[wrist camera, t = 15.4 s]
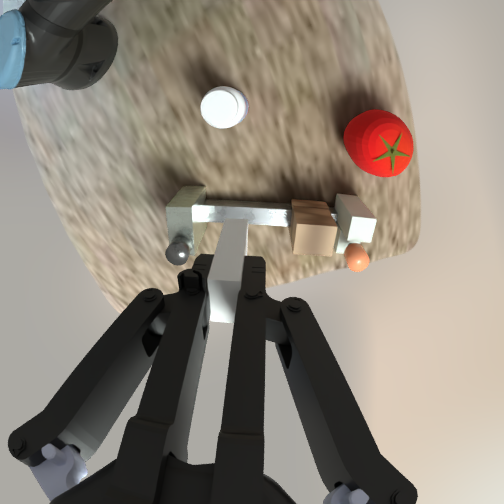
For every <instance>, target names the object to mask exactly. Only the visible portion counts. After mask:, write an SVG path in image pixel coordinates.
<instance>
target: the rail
mask: <svg viewBox="0 0 504 504" xmlns="http://www.w3.org/2000/svg"><path fill="white" fill-rule="evenodd" d="M328 208H329V211H330V213H331V215H332V217H333V219H334V221H335V223H336V224H337V218H338V213H337V211H336V209H335V208H334V207H328ZM166 217H167V227H168V236H169V246H168V248H167V250H166V252H165V255H166V258H167V260H168V261H169V262H170V263H172V264H174V265H183V264H184V263H186V261H187V259H188V257H189V255H195V254H196V252H197V249H198V247H199V244H200V242H201V240H202V237H203V235H204V233H205V230H206V228H207V222H221V223H224V221H225V218H229V219H248V224H258V225H275V226H291V217H292V205H291V204H286V203H272V202H255V201H236V200H211V199H206V186H183V187H182V188H181V189H180V191H179V192H178V193H177V194H176V195H175V196H174V197H173V199H172V200H171V201H170V202H169V203H168V205H167V206H166Z"/></svg>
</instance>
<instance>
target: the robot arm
mask: <svg viewBox="0 0 504 504" xmlns="http://www.w3.org/2000/svg"><path fill="white" fill-rule="evenodd" d="M111 1H112V0H26V1H25V2H24V3H23V4H22V6H21V7H20V8H19V10H17V9H14V10H11V11H7V12H6V13H4V14H3V15H1V16H0V89H12V88H17V87H23V86H29V85H36V84H43V83H52V84H54V85H57V86H59V87H61V88H63V89H67V90H79V89H84V88H87V87H89V86H91V85H93V84H94V83H96V82H97V81H98V80H99V79H101V78H102V76H103V75H104V74H105V73H106V72H107V70H108V69H109V67H110V66H111V64H112V62H113V60H114V57H115V55H116V51H117V46H118V36H117V32H116V29H115V27H114V26H113V25H112V24H111V23H110V22H109V21H107V20H105V19H102V18H99V17H95V16H96V15H97V14H98V13H99V12H100V11H101V10H102V9H103V8H104V7H105V6H106V5H108V4H109V3H110V2H111ZM247 241H248V219H229V218H225V221H224V225H223V228H222V231H221V234H220V238H219V241H218V244H217V248H216V251H215V255H212V254H200V255H199V256H198V257H197V258H196V259H195V261H194V265H193V267H192V269H186V270H183V271H182V272H180V273H179V274H178V275H177V278H178V284H179V292H177V293H173V294H167V295H163V293H162V292H161V290H159V289H156V288H149V289H145V290H143V291H142V292H140V293H139V294H138V295H137V296H136V297H135V299H134V300H133V301H132V302H131V303H130V304H129V305H128V306H127V308H126V309H125V310H124V311H123V312H122V313H121V314H120V316H119V317H118V318H117V319H116V320H115V321H114V322H113V324H112V325H111V326H110V327H109V329H108V330H107V331H106V332H105V333H104V334H103V336H102V337H101V338H100V339H99V340H98V341H97V343H96V344H95V345H94V346H93V347H92V349H91V350H90V351H89V352H88V353H87V355H86V356H85V357H84V358H83V360H82V361H81V362H80V363H79V365H78V366H77V367H76V368H75V370H74V371H73V372H72V373H71V375H70V376H69V377H68V379H67V380H66V381H65V382H64V384H63V385H62V386H61V387H60V389H59V390H58V391H57V393H56V394H55V395H54V397H53V398H52V399H51V401H50V402H49V404H48V405H47V406H46V407H45V409H44V410H43V411H42V412H41V413H39V414H38V415H37V416H35V417H33V418H32V419H31V420H29V421H28V422H26V423H25V424H23V425H22V426H20V427H19V428H17V429H16V430H14V431H13V432H12V433H11V434H10V436H9V439H8V447H9V451H10V453H11V454H12V456H13V457H15V458H16V459H18V460H20V461H21V462H23V463H24V464H26V465H28V466H29V467H30V469H31V471H32V473H33V474H34V476H35V478H36V479H37V481H38V483H39V484H40V486H41V488H42V489H43V491H44V492H45V494H46V495H47V497H48V498H49V500H50V501H51V502H50V504H296V503H295V502H294V501H293V499H292V498H291V497H290V496H289V495H288V494H287V493H286V492H285V491H284V490H283V489H282V487H281V486H280V485H279V484H278V483H277V482H275V481H274V480H273V479H272V478H270V477H269V476H267V475H265V474H263V470H264V395H265V342H266V340H268V341H272V342H275V345H276V349H277V351H278V354H279V357H280V360H281V363H282V366H283V369H284V372H285V375H286V378H287V381H288V384H289V387H290V390H291V393H292V396H293V399H294V402H295V405H296V408H297V411H298V413H299V416H300V419H301V422H302V425H303V428H304V431H305V434H306V437H307V440H308V443H309V446H310V449H311V451H312V454H313V457H314V460H315V463H316V466H317V469H318V472H319V474H320V476H321V478H322V481H323V483H324V484H325V486H326V487H327V489H328V491H329V492H330V493H329V494H328V495H327V496H326V498H325V499H324V501H323V504H416V501H417V497H418V495H417V489H416V488H415V487H414V485H413V484H412V483H411V482H410V481H409V480H408V479H406V478H405V477H404V476H403V475H402V474H401V473H400V472H399V471H398V470H397V469H396V468H395V467H394V466H393V465H392V464H390V462H389V461H387V460H386V459H385V458H384V457H383V456H382V455H381V454H380V452H379V449H378V447H377V445H376V443H375V441H374V438H373V436H372V434H371V432H370V430H369V427H368V425H367V423H366V421H365V419H364V417H363V415H362V412H361V411H360V408H359V406H358V404H357V402H356V400H355V398H354V396H353V394H352V391H351V389H350V387H349V385H348V383H347V381H346V379H345V377H344V375H343V373H342V371H341V369H340V367H339V365H338V363H337V361H336V358H335V356H334V355H333V352H332V350H331V348H330V347H329V344H328V342H327V341H326V338H325V336H324V335H323V332H322V330H321V329H320V327H319V324H318V323H317V321H316V319H315V317H314V315H313V313H312V311H311V309H310V307H309V305H308V304H307V302H306V301H304V300H303V299H301V298H297V297H289V298H286V299H284V300H283V301H282V302H280V301H277V300H274V299H272V298H270V297H269V296H268V295H267V293H266V290H265V282H266V262H265V260H264V259H263V257H259V256H247ZM209 318H210V319H211V321H216V322H229V323H234V329H233V336H232V344H231V351H230V359H229V367H228V375H227V383H226V391H225V399H224V407H223V416H222V424H221V430H220V432H219V436H218V442H217V451H216V458H215V463H212V464H201V465H191V464H188V463H187V459H188V452H187V444H188V438H189V432H190V426H191V420H192V415H193V410H194V404H195V399H196V393H197V388H198V383H199V378H200V372H201V368H202V362H203V357H204V353H205V347H206V342H207V338H208V333H209ZM151 365H152V367H151ZM150 367H151V371H150V374H149V376H148V380H147V383H146V386H145V389H144V392H143V395H142V399H141V402H140V405H139V408H138V412H137V414H136V415H135V416H134V417H131V418H130V419H129V420H128V422H127V425H126V428H125V431H124V435H123V438H122V442H121V445H120V449H119V453H118V456H117V459H115V460H114V461H112V462H111V463H109V464H108V465H106V466H105V467H103V468H102V469H100V470H99V471H97V472H96V473H94V474H93V475H91V476H90V477H88V478H86V479H85V480H84V481H82V482H80V480H81V479H82V477H85V476H86V475H87V473H88V472H87V468H86V464H85V462H86V461H87V460H89V459H90V458H91V456H92V455H93V454H94V453H95V452H96V451H97V449H98V448H99V446H100V445H101V444H102V442H103V440H104V439H105V437H106V436H107V434H108V432H109V431H110V429H111V428H112V426H113V424H114V423H115V421H116V420H117V418H118V417H119V415H120V413H121V412H122V410H123V409H124V407H125V406H126V404H127V402H128V401H129V399H130V398H131V396H132V395H133V393H134V392H135V390H136V388H137V387H138V385H139V384H140V382H141V381H142V379H143V378H144V376H145V374H146V373H147V371H148V370H149V368H150Z"/></svg>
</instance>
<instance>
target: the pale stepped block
mask: <svg viewBox="0 0 504 504" xmlns="http://www.w3.org/2000/svg"><path fill="white" fill-rule="evenodd" d="M334 208H335V209H336V211H337V213H338V218H337V224H336V225H337V227H338V228H337V233H336V238H335V243H334V249H335V252H336V253H344V250H345V248H346V247H347V246H348V244H349V243H359V244H360V242H370V243H371V240H372V236H373V232H374V228H375V224H376V220H377V219H376V218H375V216H374V215H373V214H372V213H371V211H370V210H369V209H368V208H367V207H366V205H365V204H364V203H363V202H362V201H361V199H360V198H359V197H358V196H354V195H346V194H337V195H336V201H335V207H334Z"/></svg>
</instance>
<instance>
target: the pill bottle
mask: <svg viewBox="0 0 504 504" xmlns="http://www.w3.org/2000/svg"><path fill="white" fill-rule="evenodd" d="M200 109H201V114H202V117H203V118H204V120H205V121H206V122H207V123H208V124H209V125H211V126H213V127H216V128H229V127H232V126H234V125H236V124H237V123H239V122H240V121H242V120H243V119H244V118H245V117H246V115H247V113H248V110H249V103H248V100H247V98H246V96H245V95H244V94H243V93H241V92H240V91H238V90H236V89H234V88H231V87H227V86H220V87H216V88H213V89H211V90H210V91H209V92H207V93H206V94H205V96H204V97H203V99H202V102H201V107H200Z"/></svg>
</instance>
